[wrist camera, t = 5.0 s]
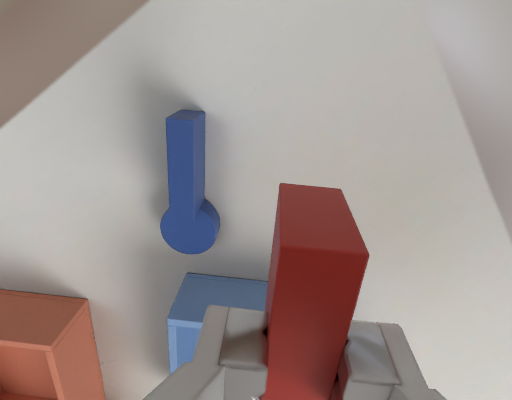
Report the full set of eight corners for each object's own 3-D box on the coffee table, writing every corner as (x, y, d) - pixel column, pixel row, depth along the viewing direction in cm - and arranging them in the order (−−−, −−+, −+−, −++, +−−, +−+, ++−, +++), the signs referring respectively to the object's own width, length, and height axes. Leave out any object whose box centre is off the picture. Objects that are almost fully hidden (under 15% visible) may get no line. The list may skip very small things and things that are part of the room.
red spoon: (233, 177, 8) (212, 238, 6) (387, 193, 8) (439, 262, 6) (221, 414, 13) (205, 514, 10) (323, 427, 13) (335, 530, 10)
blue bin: (186, 272, 26) (166, 318, 22) (325, 287, 26) (334, 337, 21) (188, 388, 32) (173, 443, 28) (301, 402, 32) (304, 460, 27)
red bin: (-36, 284, 29) (-96, 328, 24) (87, 299, 28) (50, 346, 24) (4, 390, 35) (-38, 442, 30) (106, 403, 34) (79, 457, 30)
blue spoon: (162, 107, 21) (144, 116, 18) (223, 113, 21) (214, 122, 18) (168, 240, 25) (154, 263, 22) (219, 245, 25) (211, 269, 22)
